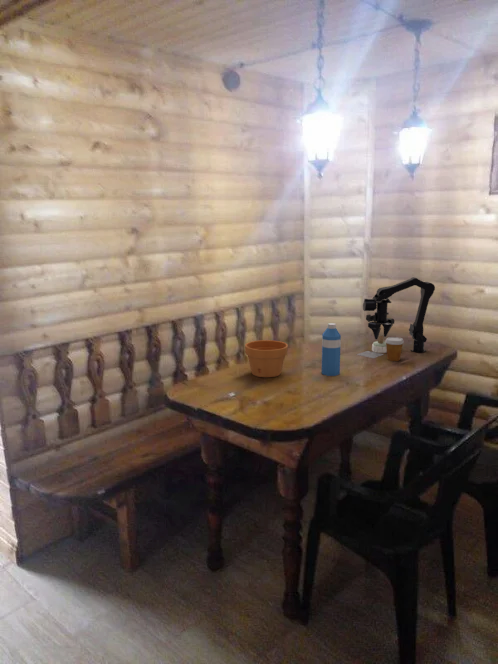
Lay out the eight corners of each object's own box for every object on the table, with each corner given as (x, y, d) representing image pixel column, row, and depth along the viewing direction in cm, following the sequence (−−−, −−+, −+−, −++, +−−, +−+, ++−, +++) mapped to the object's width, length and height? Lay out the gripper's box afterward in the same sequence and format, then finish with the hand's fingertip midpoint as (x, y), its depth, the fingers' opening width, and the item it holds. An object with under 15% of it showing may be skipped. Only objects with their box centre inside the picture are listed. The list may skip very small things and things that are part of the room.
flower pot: (253, 365, 291) (253, 338, 288) (292, 369, 284) (292, 341, 281) (239, 377, 272) (238, 348, 268) (280, 381, 265) (280, 351, 261)
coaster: (367, 352, 315) (367, 350, 315) (384, 355, 308) (384, 354, 308) (356, 355, 308) (356, 354, 308) (373, 359, 300) (373, 358, 300)
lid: (378, 342, 320) (378, 333, 319) (390, 344, 315) (390, 335, 314) (370, 345, 315) (370, 336, 314) (383, 347, 309) (383, 338, 308)
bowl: (377, 348, 322) (377, 342, 321) (391, 351, 316) (392, 344, 315) (368, 351, 316) (369, 345, 315) (382, 354, 310) (383, 347, 309)
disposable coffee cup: (401, 358, 302) (402, 337, 299) (404, 363, 293) (405, 341, 290) (383, 358, 303) (384, 336, 300) (385, 363, 294) (386, 341, 291)
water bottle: (342, 371, 279) (343, 322, 274) (336, 376, 271) (338, 326, 266) (324, 369, 283) (325, 321, 278) (318, 374, 275) (319, 325, 269)
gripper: (378, 306, 323) (377, 333, 326) (360, 311, 310) (359, 338, 313) (395, 309, 315) (394, 336, 318) (377, 313, 302) (376, 341, 305)
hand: (380, 338), depth 314 cm, fingers open, 9 cm apart
